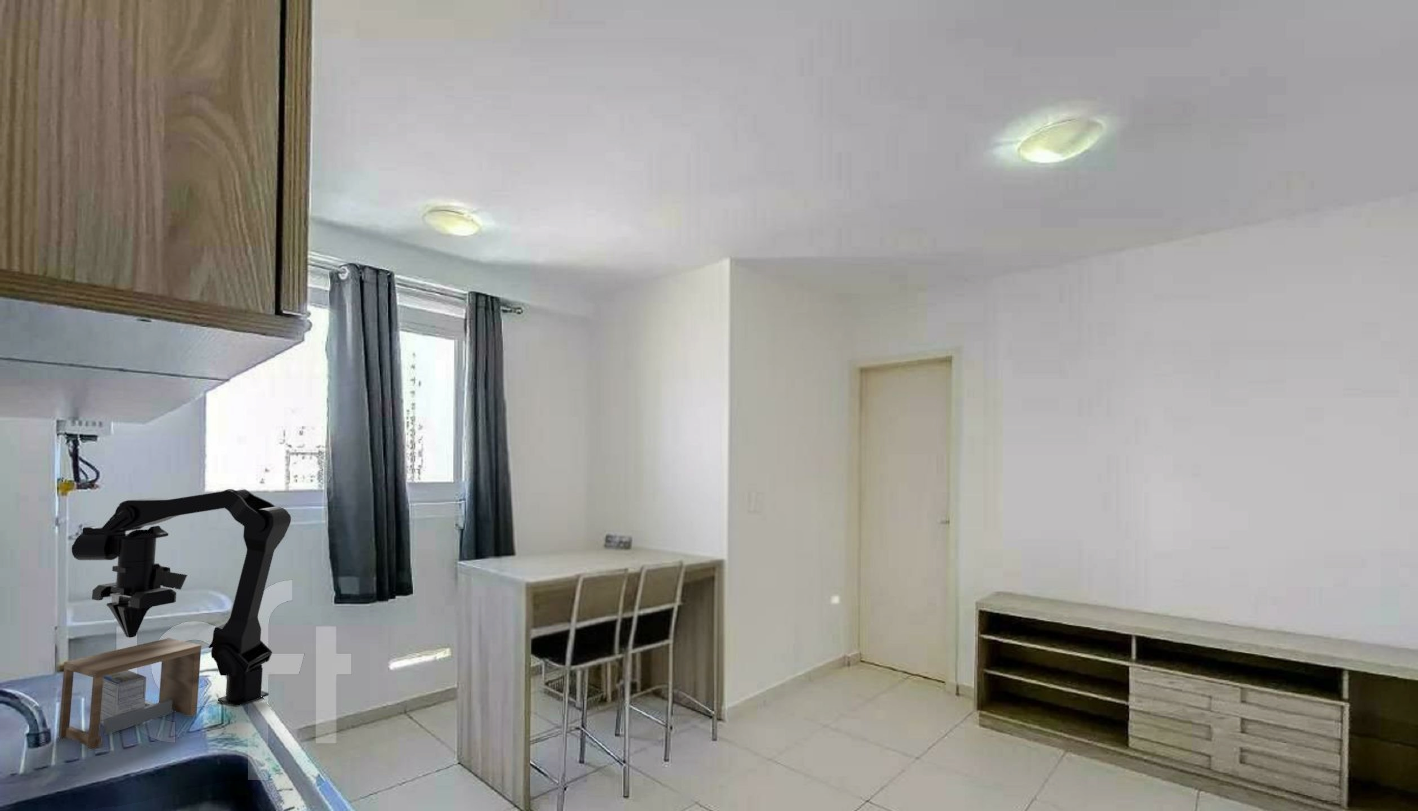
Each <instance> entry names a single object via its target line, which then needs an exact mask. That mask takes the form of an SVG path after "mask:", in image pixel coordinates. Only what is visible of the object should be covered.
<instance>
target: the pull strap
mask: <svg viewBox="0 0 1418 811" xmlns="http://www.w3.org/2000/svg"><path fill="white" fill-rule="evenodd" d="M173 712H174V711H173V708H172V700H170V699H169V700H166V701H162V702H159V701H158V702H157V703H156V702H152V701H148V700H146V699H145V707H143V708H139V709H136V710H133V711H129V712H126V713H123V714H119V715H116V716H113V717H110V718H106V719H104V725H102V726H103V728H102V734H104V735H109V734H112V733H116V732H118V731H121V730H124V729H128V728H130V727H134V725H135V726H138V725H141V724H140V723H142V724H143V723H147V722H149V721H152V720H156V719H159V718H162V717H164V716H168V715H171V714H173ZM137 724H138V725H137Z"/></svg>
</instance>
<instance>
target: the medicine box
mask: <svg viewBox="0 0 1418 811" xmlns="http://www.w3.org/2000/svg"><path fill="white" fill-rule="evenodd" d="M146 691H147V677H146V676H145V675H142V674H140V673H136V672H134V671H131V670H126V671H122V672H118V673H114V674H111V675H107V676H103V689H102V702H101V715H100V725H101V724H102V725H101V726H104V719H106V718H110V717H113V716H116V715H119V714H123V713H126V712H129V711H133V710H136V709H139V708H143V707H145V700H146Z"/></svg>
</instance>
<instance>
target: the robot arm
mask: <svg viewBox="0 0 1418 811" xmlns="http://www.w3.org/2000/svg"><path fill="white" fill-rule="evenodd" d="M221 509H224V510H226V511H228V512H229V514H230V515H231V516H232V518H233V520H235V521H236V522H237V523H239V525H242V526H243V541H244V544H245V546H246V552H245V557H244V562H243V564H242V567H241V568H242V569H241V572H240V573H241V574H240V577H239V580H238V585H237V589H236V592H235V596H234V601H233V604H232V607H231V612H230V616H229V618H228V620H227V621H226V622H225V623H223V624H221V625H218V626H216V627H214V629H213V633H212V640H211V643H210V645H208V649H211V650H210V651H211V652H210V656H211V659H213V660H214V661H215V662H216V666H217V669H218V672H219V675H220V676H226V684H225V685H226V687H225V695H224V696H222V697H219V698H217V702H220V703H222V702H223V704H226V705H231V706H233V707H238V706H241V705H244V704H247V703H249V702H253V701H256V700H260V699H261V698H265V697H268V696H269V692H267V691H264V690H262V685H263V670H264V668H263V664H266V663H267V662H269V661H270V659H271V656H272V654H273V651H272V650H271V649H270V648H269V647H268V646H267V645H266V644H265V643H264V642H263V641H262V640H261V637H262V636H261V635H262V627H261V624H260V621H259V612H260V608H261V604H262V601H263V597H264V592H265V588H266V585H267V580H268V576H269V573H270V568H271V564H272V561H273V557H274V552H275V551H276V549H277V548H278V546H279V544H280V543H281V542H282V540H284V538H285V536H286V534H287V532H288V530H289V527H290V525H291V521H292V518H291V514H290V513H289V512H288V510H287V509H285V507H282V506H276V505H274V504H273V503H272V502H270V501H268V500H265V499H263V498H261V497H259V496H256V495H254V493H252V492H250V491H249V490H247V489H246V488H243V487H239V488H238V487H237V488H227V489H225V490H221V491H216V492H210V493H209V492H208V493H203V494H197V495H191V496H183V497H177V498H168V497H149V498H148V497H147V498H138V499H130V500H129V499H127V500H124V501H121V502H120V503H119V504H118V506H117V507H116V510H115V512H114V513H113V515H112V516H111V517H110V518H109V520H107V521H106V522H105V523H104V524H103V526H86V527H82V531H81V532H82V533H80V534H79V535H78V536H77V538H76V539H75V540H74V542H73V544H72V545H71V554H72V556H73V557H74V559H76V560H77V561H114V560H115V559H117V565H112V567H111V568H112V569H111V571H112V572H116V579H115V580H116V582H110V583H109V582H108V583H104V584H98V585H97V586H95V588H94V589H92V593H91V594H92V595H91V600H94V601H102V600H104V598H110V597H111V602H109V603H108V602H107V603H106V607H108V608H109V610H110V612H111V613H112V614H113V616H114V618H115V619H116V621H117V622H118V625H119V626H120V628H121V630H122V631H123V633H124V635H125V637H126V638H130V639H131V638H135V637H136V636H137V634H138V631H140V627H141V625H142V623H143V620H144V619H145V617H146V615H147V612H148V611H149V610H150V609H151V608H154V607H158V606H164V605H168V604H174V603H176V602H177V592H176V591H175V590H173V589H176V590H182V588H183V585H184V584H185V581H186V579H187V577H188V574H184V573H183V574H182V573H178V572H173V571H172V572H171V567H169V566H162V565H161V564H160V563H158V562H157V563H156V561H155V560H156V548H157V547H156V545H157V539H159V538H165V537H168V536H169V532H167V531H166V530H164V529H163V528H161V526H160V525H156V524H160V523H163V522H165V521H169V520H171V519H173V518H176V517H179V516H183V515H189V514H196V513H201V512H202V513H203V512H207V511H214V510H221ZM148 526H150V527H149V528H148V529H142V528H144V527H148ZM126 532H129V533H126ZM261 696H262V697H261Z"/></svg>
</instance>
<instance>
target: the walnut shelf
mask: <svg viewBox="0 0 1418 811" xmlns="http://www.w3.org/2000/svg"><path fill="white" fill-rule="evenodd" d="M201 654H202V644H197V643H192V642H188V641H183V640H179V639H174V638H170V637H167V638H163V639H159V640H154V641H151V642H150V641H149V642H146V643H145V642H144V643H141V644H138V645H133V646H129V647H128V646H127V647H125V648H124V647H123V648H121V649H115V650H111V651H107V652H101V653H98V654H94V655H93V654H92V655H89V656H84V657H80V658H76V659H72V660H67V661H64V662H63V663H64V664H63V673H62V674H63V676H62V687H61V700H60V711H59V724H58V725H59V727H58V736H59V737H60V738H59V737H58V738H59V739H64V738H67V739H69V740H73V741H75V742H78V743H80V744H83V745H86V746H87V749H88V750H90V751H91V750H94V749H98V748H99V747H102V736H100V728H101V726H100V725H101V724H100V715H101V702H102V689H103V676H107V675H111V674H114V673H118V672H122V671H126V670H129V671H131V670H133V669H138V668H141V667H145V666H150V665H154V664H157V663H161V667H160V680H159V681H160V682H159V696H158V699H159V700H158V703H159V702H162V701H166V700H169V699H170V700H172V708H173V712H175V711H176V713H179V714H182V715H184V716H185V715H186V716H188V717H192V716H197V714H198V701H199V700H198V698H199V697H198V696H199V685H200V684H199V683H200V670H201V669H200V668H201ZM74 673H78V674H80V675H84V676H87V677H90V678H92V687H91V701H90V711H89V712H90V713H89V727H88V731H86V730H82V729H80V728H76V727H74V726H71V725H70V723H71V712H72V709H71V708H72V698H73V685H74V684H73V683H74Z"/></svg>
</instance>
